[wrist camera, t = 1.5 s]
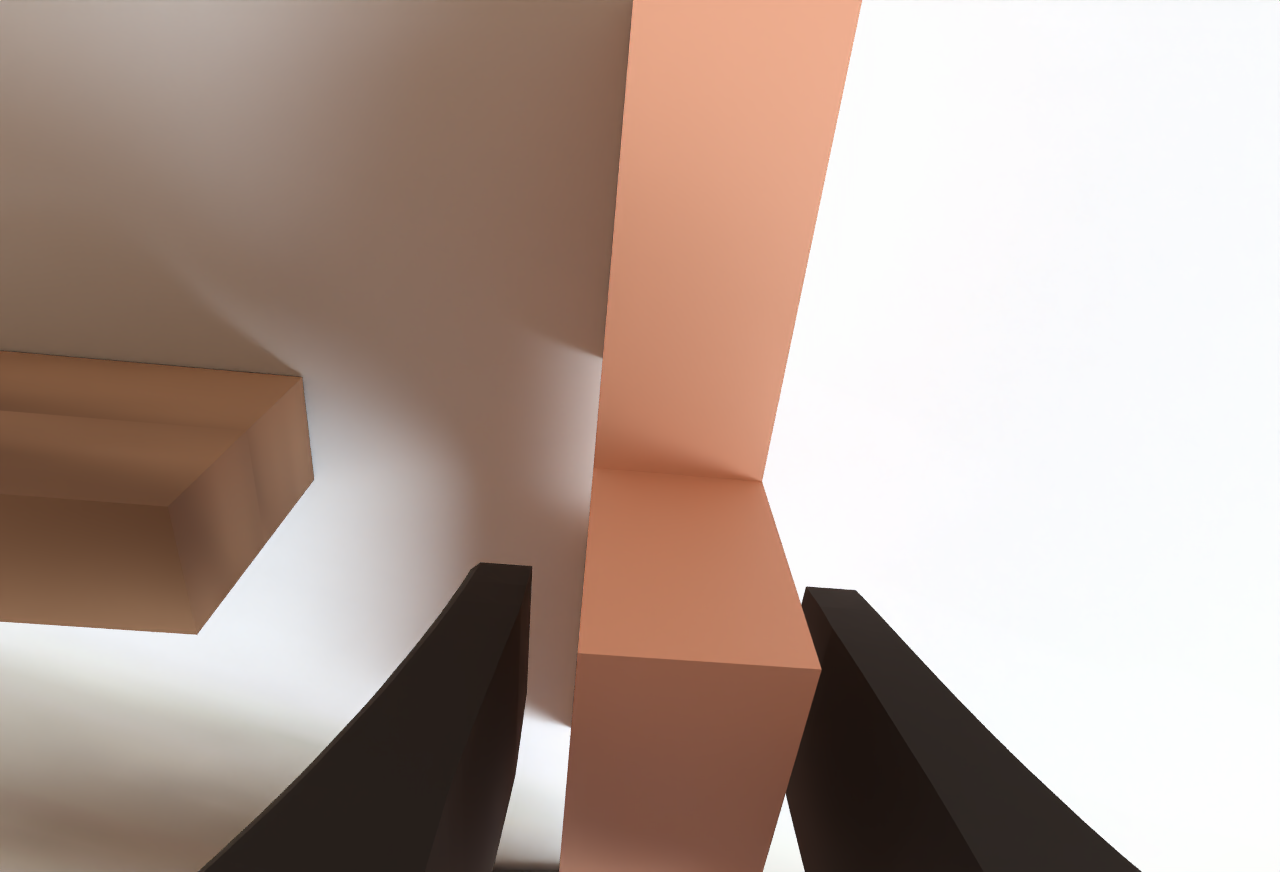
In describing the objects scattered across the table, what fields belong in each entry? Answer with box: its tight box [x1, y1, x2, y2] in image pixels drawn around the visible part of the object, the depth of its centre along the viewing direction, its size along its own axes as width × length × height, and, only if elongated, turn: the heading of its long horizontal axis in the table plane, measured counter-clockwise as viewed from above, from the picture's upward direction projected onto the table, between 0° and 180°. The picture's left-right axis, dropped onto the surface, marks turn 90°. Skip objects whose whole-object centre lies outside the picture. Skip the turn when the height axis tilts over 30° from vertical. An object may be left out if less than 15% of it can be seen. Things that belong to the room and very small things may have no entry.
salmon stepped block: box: [559, 0, 862, 872], centre depth 10 cm, size 14×2×7 cm, turn 174°
